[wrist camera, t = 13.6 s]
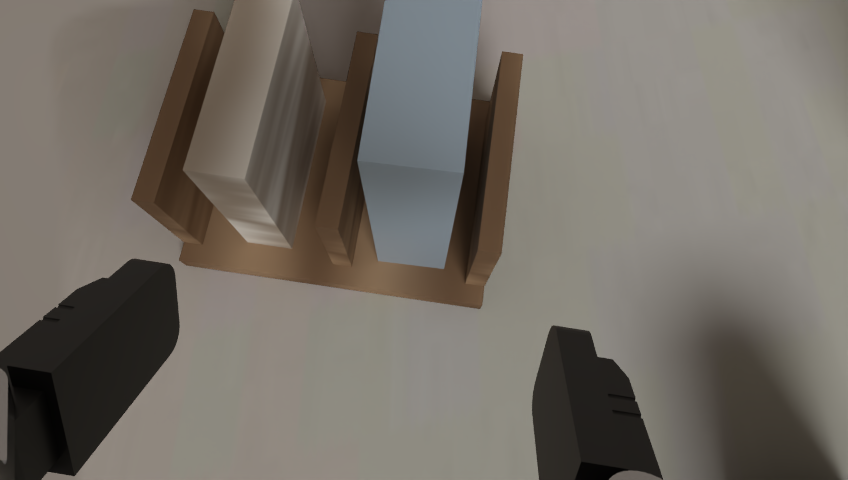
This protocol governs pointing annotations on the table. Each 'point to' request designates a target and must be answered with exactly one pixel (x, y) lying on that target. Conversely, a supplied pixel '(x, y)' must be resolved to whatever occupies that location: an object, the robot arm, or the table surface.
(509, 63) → the rack
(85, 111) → the table surface
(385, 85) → the pale blue upright slab
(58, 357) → the robot arm
